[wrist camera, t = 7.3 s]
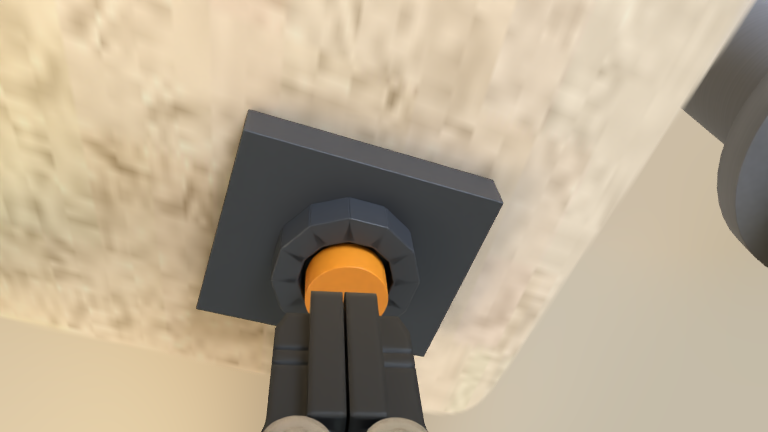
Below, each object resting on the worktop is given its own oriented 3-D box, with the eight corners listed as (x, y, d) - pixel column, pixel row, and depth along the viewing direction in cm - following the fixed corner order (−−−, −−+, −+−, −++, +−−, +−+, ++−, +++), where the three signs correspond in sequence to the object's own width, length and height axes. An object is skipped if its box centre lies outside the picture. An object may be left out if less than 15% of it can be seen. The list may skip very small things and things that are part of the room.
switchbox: (493, 179, 31) (514, 224, 28) (418, 329, 36) (428, 382, 33) (248, 108, 28) (237, 148, 25) (202, 281, 33) (188, 335, 30)
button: (396, 253, 29) (400, 277, 27) (370, 313, 30) (372, 339, 29) (318, 234, 28) (318, 258, 26) (296, 296, 30) (294, 322, 28)
